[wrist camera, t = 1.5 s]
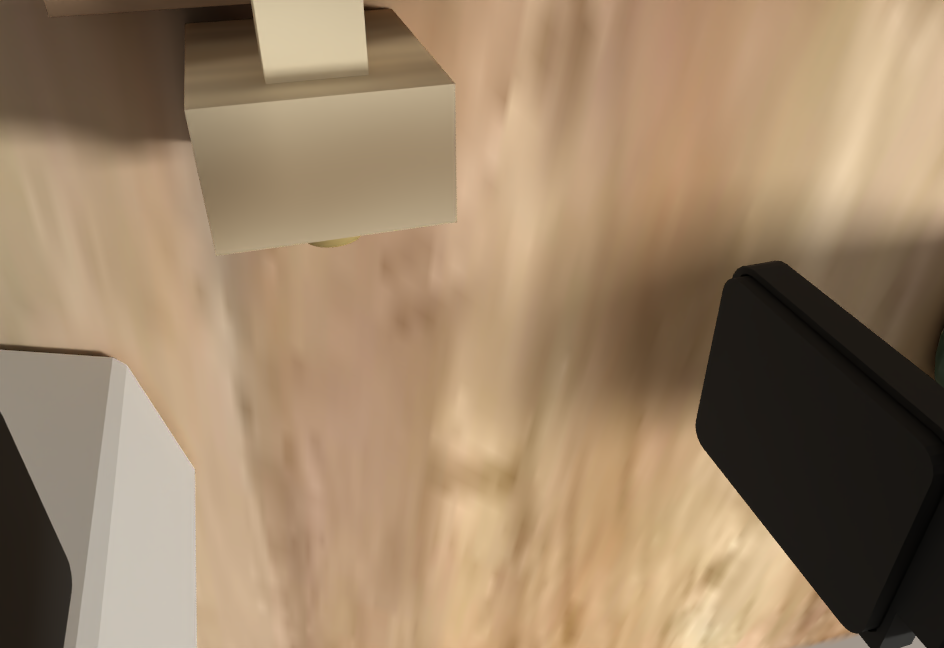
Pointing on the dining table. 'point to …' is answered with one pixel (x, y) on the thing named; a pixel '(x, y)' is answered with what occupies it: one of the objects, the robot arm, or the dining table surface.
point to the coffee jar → (940, 361)
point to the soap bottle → (108, 496)
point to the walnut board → (126, 5)
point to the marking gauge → (317, 126)
